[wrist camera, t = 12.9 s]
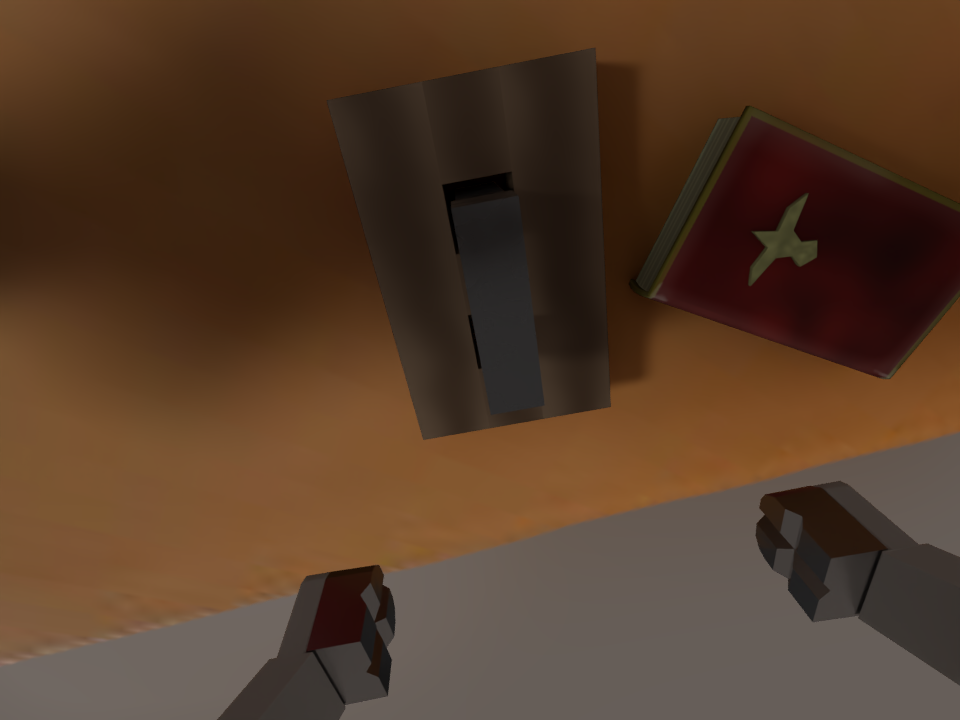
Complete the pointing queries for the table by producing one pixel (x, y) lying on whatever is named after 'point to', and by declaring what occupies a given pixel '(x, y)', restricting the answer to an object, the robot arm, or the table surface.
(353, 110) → the wooden board with holes
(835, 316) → the hardcover book
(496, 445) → the table surface
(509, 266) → the grey u-shaped block
